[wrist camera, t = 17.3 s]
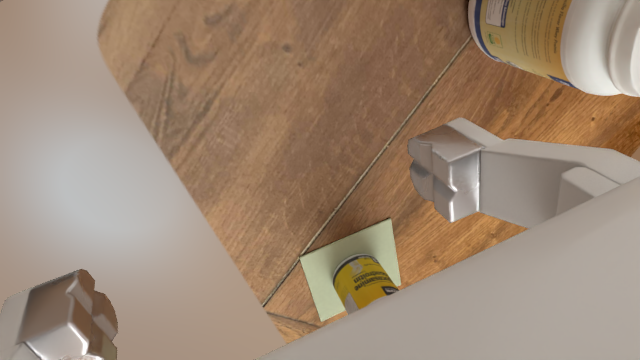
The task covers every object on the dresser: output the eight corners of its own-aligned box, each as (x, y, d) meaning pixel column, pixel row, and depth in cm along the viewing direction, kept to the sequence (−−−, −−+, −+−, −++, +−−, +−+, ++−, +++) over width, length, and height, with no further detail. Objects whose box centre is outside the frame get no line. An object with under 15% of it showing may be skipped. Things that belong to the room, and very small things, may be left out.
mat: (320, 320, 56) (321, 321, 56) (299, 257, 50) (299, 258, 49) (400, 283, 58) (401, 284, 58) (390, 217, 52) (390, 218, 52)
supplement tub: (463, 73, 45) (605, 135, 32) (461, -53, 38) (640, -44, 25) (557, 38, 48) (727, 82, 34) (570, -87, 41) (791, -96, 27)
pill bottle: (385, 254, 54) (437, 322, 45) (362, 293, 56) (408, 366, 47) (344, 247, 51) (390, 318, 42) (321, 288, 53) (361, 365, 44)
